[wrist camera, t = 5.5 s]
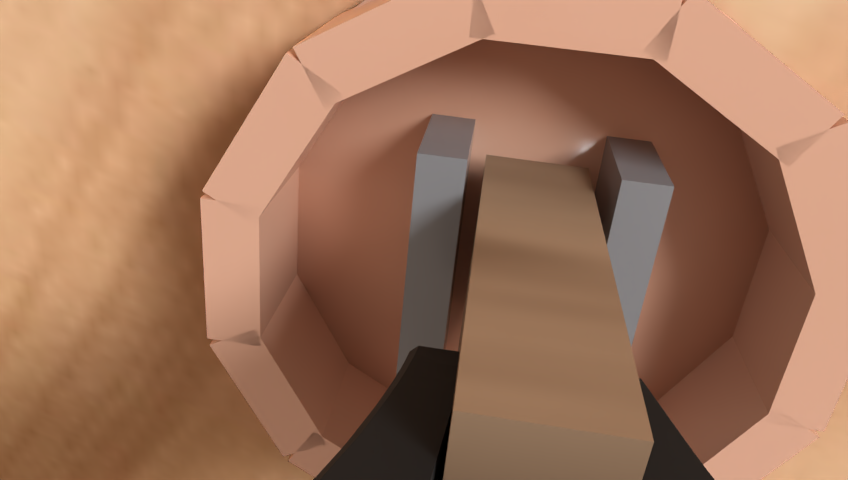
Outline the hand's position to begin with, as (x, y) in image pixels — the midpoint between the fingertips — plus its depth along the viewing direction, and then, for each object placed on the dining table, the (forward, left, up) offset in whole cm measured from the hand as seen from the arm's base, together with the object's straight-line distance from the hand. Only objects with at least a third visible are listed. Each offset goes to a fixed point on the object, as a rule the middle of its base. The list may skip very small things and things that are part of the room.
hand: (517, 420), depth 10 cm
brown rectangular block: (0, 0, -4) cm, 4 cm away
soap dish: (0, 0, -6) cm, 6 cm away
